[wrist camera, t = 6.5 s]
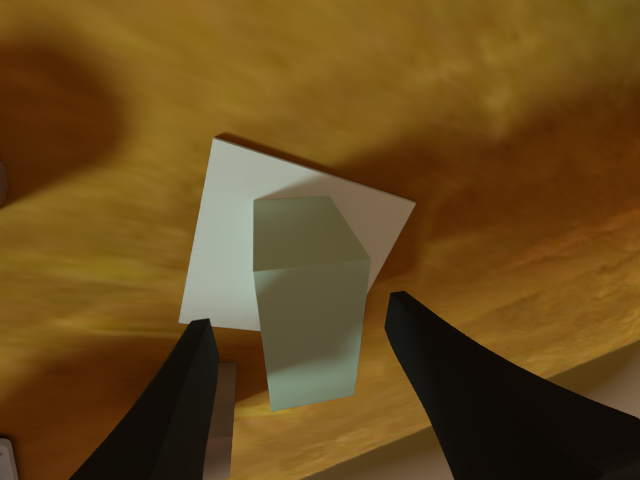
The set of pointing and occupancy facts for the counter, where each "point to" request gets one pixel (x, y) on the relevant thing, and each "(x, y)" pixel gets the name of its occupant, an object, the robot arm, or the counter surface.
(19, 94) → the counter surface
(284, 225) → the sage brick
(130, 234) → the counter surface
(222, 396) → the walnut cube
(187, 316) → the plate
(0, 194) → the pink cylinder
